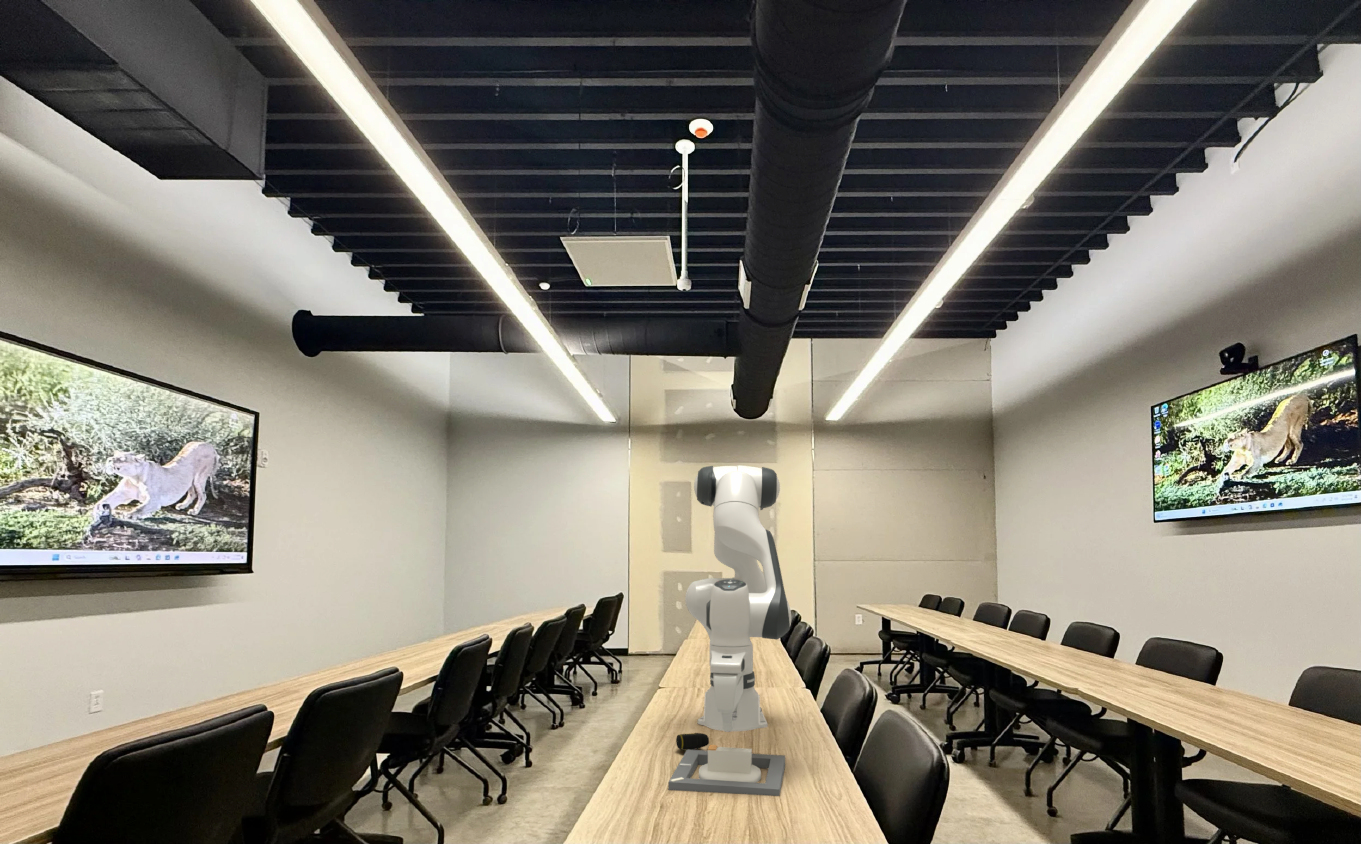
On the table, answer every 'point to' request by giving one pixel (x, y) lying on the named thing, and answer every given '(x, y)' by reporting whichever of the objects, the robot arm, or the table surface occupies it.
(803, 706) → the table surface
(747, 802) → the table surface
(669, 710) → the table surface
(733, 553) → the robot arm
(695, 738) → the tape measure
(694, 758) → the grey square frame
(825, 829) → the table surface
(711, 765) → the dial knob
